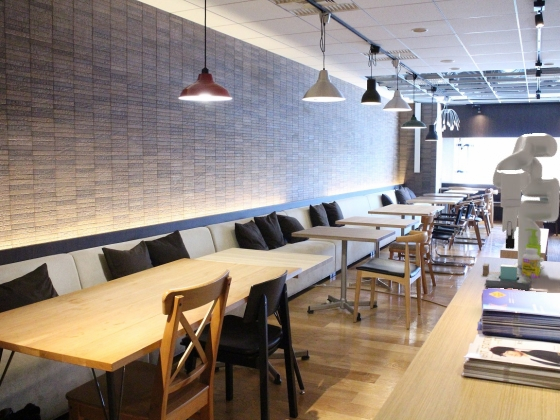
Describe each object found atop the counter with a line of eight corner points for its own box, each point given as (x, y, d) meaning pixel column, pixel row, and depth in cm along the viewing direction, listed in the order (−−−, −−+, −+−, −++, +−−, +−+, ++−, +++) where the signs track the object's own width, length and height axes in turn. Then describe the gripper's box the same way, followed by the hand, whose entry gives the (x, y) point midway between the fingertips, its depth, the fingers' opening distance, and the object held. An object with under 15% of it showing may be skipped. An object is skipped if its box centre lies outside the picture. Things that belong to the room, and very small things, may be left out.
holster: (483, 273, 243) (483, 262, 243) (512, 275, 238) (512, 264, 237) (480, 277, 234) (481, 266, 234) (510, 280, 229) (511, 268, 228)
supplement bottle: (519, 278, 231) (520, 249, 230) (525, 276, 236) (525, 247, 235) (536, 281, 227) (537, 250, 226) (541, 278, 232) (542, 248, 230)
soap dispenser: (526, 271, 245) (527, 227, 243) (542, 274, 240) (543, 229, 238) (520, 273, 241) (522, 229, 239) (537, 276, 236) (538, 230, 234)
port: (489, 279, 230) (489, 272, 230) (531, 283, 223) (531, 275, 222) (485, 287, 217) (485, 279, 217) (529, 291, 210) (529, 282, 210)
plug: (500, 283, 223) (501, 264, 222) (516, 285, 220) (517, 265, 220) (500, 285, 219) (500, 266, 219) (516, 287, 217) (517, 267, 216)
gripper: (502, 201, 225) (501, 244, 227) (498, 205, 212) (498, 251, 214) (522, 201, 222) (521, 245, 224) (519, 205, 209) (518, 252, 211)
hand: (509, 248), depth 219 cm, fingers closed
